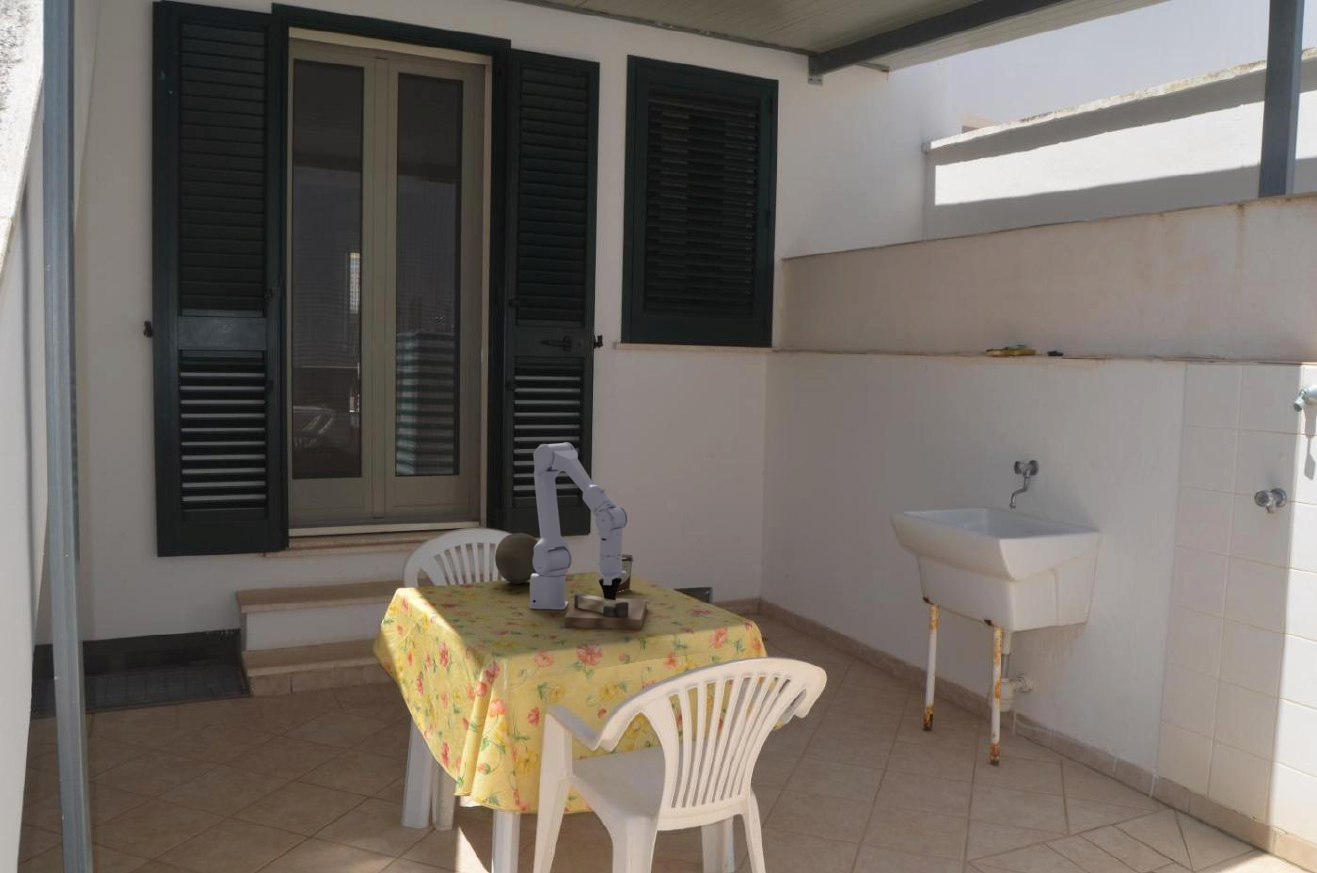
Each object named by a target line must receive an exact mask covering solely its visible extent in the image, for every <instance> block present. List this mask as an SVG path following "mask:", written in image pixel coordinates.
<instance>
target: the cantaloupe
mask: <svg viewBox="0 0 1317 873" xmlns="http://www.w3.org/2000/svg"><path fill="white" fill-rule="evenodd" d="M538 541H539V540H537V539H536V538H535V537H534V536H533V535H530V534H528V533H523V532H515V533H511V534H508V535H506V536H505V537H503V538H502V539H501V540H500V541H499V543H498V545H497V546H496V550H495V555H494V561H495V566H496V569H497V571H498V573H499V574H500V576H501V577H502V578H503V579H504V580H505V581H507V582H508V583H511V584H516V585H517V584H523V583H526V582H529V581H530V579H531V575H532V574H533V573H537V572H536V571H535V569H534V567H533V556H534V546H535V545H536V544H537V543H538Z"/></svg>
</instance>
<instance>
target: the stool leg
mask: <svg viewBox="0 0 1317 873" xmlns="http://www.w3.org/2000/svg"><path fill="white" fill-rule="evenodd" d="M573 596H574V598H573V602H574V607H577V608H582V609H586V610H591V611H595V612H600V613H603V606H610V607H615V608H616V611H615V617H619V618H620V617H624V616H628V606H629V603H627V602H620V601H615V600H611V599H606V598H604V597H601V596H597V595H591V594H586V593H575V594H574V595H573Z"/></svg>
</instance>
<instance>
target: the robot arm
mask: <svg viewBox="0 0 1317 873" xmlns="http://www.w3.org/2000/svg"><path fill="white" fill-rule="evenodd" d="M532 456H533V464H534V471H533V477H534V488H535V490H534V491H535V497H536V498H535V499H536V508H537V515H538V516H537V518H538V526H539V536H540V537H539V539H538V540H537V541H538V543H537V544H536V545H535V546H534V556H533V567H534V569H535V571H536V572H537V573H533V574H532V575H531V579H530V580H529V581H530V582H529V607H528V608H529V609H531V610H532V609H533V610H534V609H536V610H560V611H561V610H565V609H566V608H567V606H568V604H569V601H567V600H566V588H567V587H566V581H567V580H566V578H567V577H566V576H567V575H566V574H567V573H568V572H569V571H568V570H569V569H570V568H571V566H572V564H573V556H572V553H571V551H570V549H569V548H570V547H569V543H568V541H567V540H566V539H564V538H563V537H562V533H561V525H560V524H561V523H560V515H559V507H558V505H559V504H558V496H557V495H558V494H557V487H556V478H557V477H558V475H559V474H560V473H562V472H565V473H566V475H568V476H569V478H570V479H571V480H572V481H573V482H574V484H576V486H578V488H579V489H580V490H581V491H582V500H583V502H584V503H585V504H586V505H587V506H586V507H588V508H589V510H590V511H591V513H592V514H593V515H594V517H595V519H594V523H595V526H596V528H597V530H598V531H597V532H598V536H599V562H600V564H599V563H598V566H599V567H598V568H599V571H598V575H599V577H600V578H599V580H598V583H599V585H600V587H601V590H602V593H603V598H606V599H611V600H616V598H617V594H618V593H617V590H618V587H619V585H620V583H621V581H622V579H621V578H617V577H619V576H621V575H626V571H622V554H623V529H624V528H625V527H626V525H627V524H628V514H627V512H626V510H625V508H624V507H622V506H619V505H617V503H616V504H615V502H614V501H613V500H611V498H610V497H609V495H608V494H607V492H606V490H605V488H604V487H603V486H601V485H599V484H594V482H593V481H592V479H591V478H590V475H589V473H587V471H586V470H585V468H584V466H583V465H582V463H581V462H580V460H579V459H578V457H579V453H578V451H577V450H576V449H575V447H574V446H573V444H571V443H570V442H566V441H565V442H562V443H561V442H560V443H548V444H547V443H542V444H539V446H538V447H537V448H536V449H535V450H534V452H533V454H532Z"/></svg>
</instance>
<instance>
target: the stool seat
mask: <svg viewBox="0 0 1317 873" xmlns="http://www.w3.org/2000/svg"><path fill="white" fill-rule="evenodd" d="M647 600H648V599H646V598H619V597H618V598H617V597H616V600H615V601H620V602H627V603H629V606H628V616H624V617H620V618H619V617H615V611H616V608H615V607H610V606H603V613H600V612H595V611H591V610H586V609H582V608H577V607H574V601H573V602H572V603H571V605H570V607H569V609H568V611H567V612H566V614H565V616H564V628H581V629H583V628H585V629H586V628H587V629H609V628H612V629H613V630H615V629H614V628H616V630H619V629H618V628H622V629H621V630H639V629H642V625H643V623H644V618H645V614H646V612H647V609H648V608H647V607H648V606H647V604H648V603H647V602H648V601H647ZM642 622H643V623H642Z"/></svg>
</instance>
